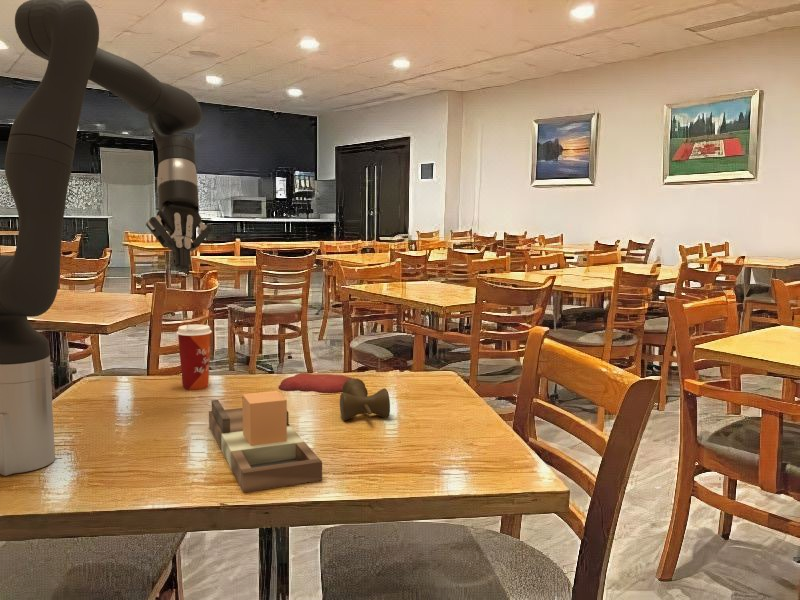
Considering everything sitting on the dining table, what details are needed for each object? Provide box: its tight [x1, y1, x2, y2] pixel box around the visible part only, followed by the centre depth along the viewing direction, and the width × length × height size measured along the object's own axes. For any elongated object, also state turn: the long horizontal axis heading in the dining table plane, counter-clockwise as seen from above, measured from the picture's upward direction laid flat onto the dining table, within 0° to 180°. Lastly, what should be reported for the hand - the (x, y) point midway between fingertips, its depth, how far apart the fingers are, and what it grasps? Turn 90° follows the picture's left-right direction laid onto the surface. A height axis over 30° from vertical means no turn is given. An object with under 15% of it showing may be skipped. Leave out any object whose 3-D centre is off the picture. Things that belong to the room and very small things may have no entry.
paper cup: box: [176, 323, 213, 391], centre depth 155 cm, size 8×8×14 cm
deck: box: [208, 399, 323, 493], centre depth 115 cm, size 32×12×6 cm, turn 24°
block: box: [241, 390, 288, 446], centre depth 113 cm, size 6×6×7 cm
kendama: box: [339, 377, 391, 422], centre depth 138 cm, size 6×10×20 cm
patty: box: [278, 372, 353, 394], centre depth 159 cm, size 18×14×2 cm
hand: (182, 268), depth 129 cm, fingers closed
